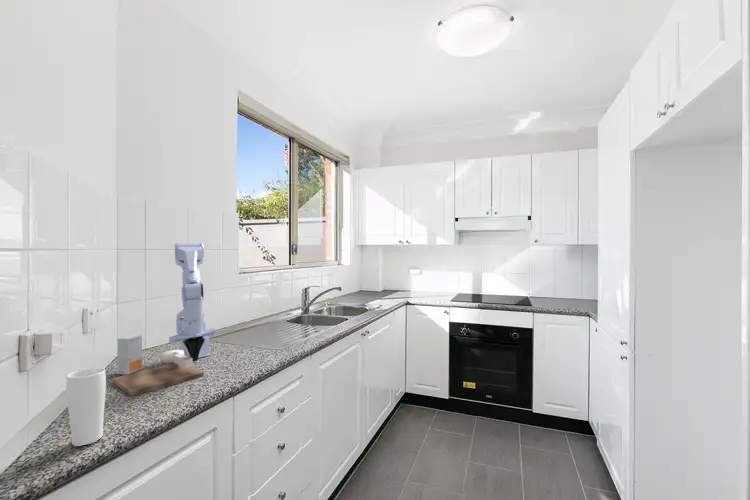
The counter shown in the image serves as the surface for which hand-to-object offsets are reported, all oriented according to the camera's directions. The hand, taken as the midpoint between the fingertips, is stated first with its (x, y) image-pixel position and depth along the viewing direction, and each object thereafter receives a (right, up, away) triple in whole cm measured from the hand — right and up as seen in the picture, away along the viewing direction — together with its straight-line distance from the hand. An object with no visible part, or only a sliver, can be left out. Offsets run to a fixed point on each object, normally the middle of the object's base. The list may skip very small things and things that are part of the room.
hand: (194, 360), depth 121 cm
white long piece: (-6, -1, +1) cm, 6 cm away
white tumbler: (-2, -5, -42) cm, 42 cm away
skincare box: (-24, -5, +4) cm, 25 cm away
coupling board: (-10, -5, -4) cm, 11 cm away
